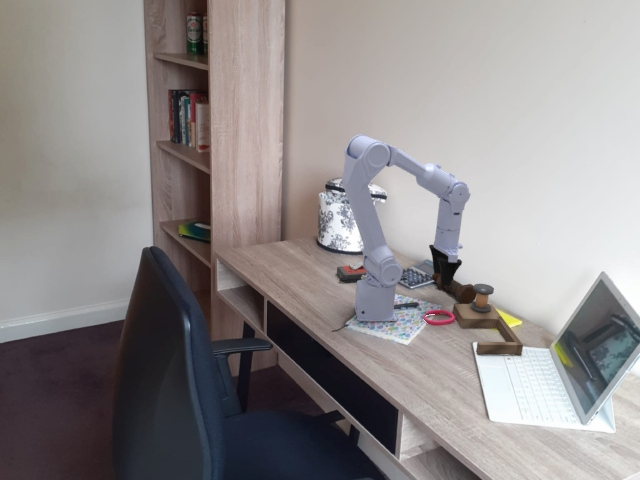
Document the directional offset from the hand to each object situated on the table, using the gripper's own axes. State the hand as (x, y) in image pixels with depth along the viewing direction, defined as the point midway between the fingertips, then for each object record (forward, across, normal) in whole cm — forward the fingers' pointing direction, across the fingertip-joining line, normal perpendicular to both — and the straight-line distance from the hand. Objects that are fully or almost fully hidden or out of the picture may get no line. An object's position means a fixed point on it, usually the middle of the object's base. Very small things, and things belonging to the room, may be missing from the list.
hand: (441, 278), depth 149 cm
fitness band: (+8, -7, +2) cm, 11 cm away
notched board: (+8, -14, -8) cm, 17 cm away
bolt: (+8, +9, -6) cm, 13 cm away
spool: (+5, -6, -9) cm, 12 cm away
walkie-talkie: (+8, +18, +15) cm, 25 cm away
